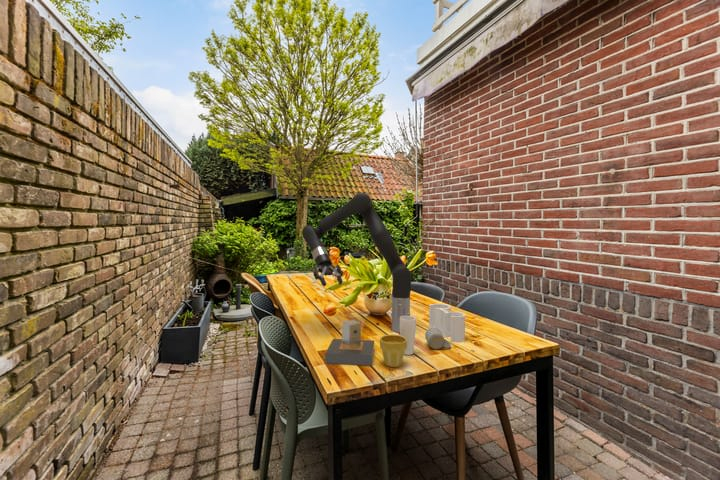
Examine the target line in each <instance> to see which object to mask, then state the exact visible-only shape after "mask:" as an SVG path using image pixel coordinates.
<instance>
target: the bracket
mask: <svg viewBox="0 0 720 480" xmlns="http://www.w3.org/2000/svg"><path fill="white" fill-rule="evenodd" d="M451 306H452V305H450V304H445V303H432V304H431V303H430V304H429V307H428V309H429V310H428V311H429V313H428V314H429V315H428V318H429V319H428V320H429V321H428V327H429V328H432V327H435V328H438V329H439V330H440V331H441V333H442V335H443V337H444V339H446V338H450V342H451V343H463V342H465V341H466V313H464V312H461V311H452V310H451V309H452V308H451Z"/></svg>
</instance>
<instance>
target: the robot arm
mask: <svg viewBox="0 0 720 480" xmlns="http://www.w3.org/2000/svg"><path fill="white" fill-rule="evenodd" d="M357 213H360V215H361V217H362V218H363V220H364V222H365V224H366V228H367V231H368V233H369V236H370V238H371V239H372V242H373V243H374V246H375V247H376V249H377V251H378V253H380V255H381V256H382V258H383V259H384V260H385V262H386V263H387V266H388V268H389V270H390V273H391V277H392V290H391V324H390V325H391V331H392V332H395V333H400V317H401V316H411V292H412V272H411V271H410V269H409V268H408V267H407V265H406V264H405V263H404V261H403V260H402V258H401V257H400V255H399V253H398V251H397V248H396V244H395V242H394V240H393V237H392V236H391V233H390V232H389V230H388V228H387V227H386V225H385V223H384V222H383V220H382V219H381V218H380V216H379V214H378V213H377V210H376V208H375V205H374V203H373V201H372V199H371V197H370V195H369V194H367V193H365V192H358V193H356V194H355V195H354V196H353V197H352V198H351V199H349V201H347V202H346V203H345V204H344V205H342V206H341V207H339V208H338V209H336V210H334V211H333V212H331V213H329V214H328V215H325V217H323V218H322V219H320V220H319V221H318V222H317V225H318V227H317V228H315V227H314V226H312V225H310V224H308V225H305V226H304V227H303V228H302V229H301V235H302V238H303V239H304V241H305V242H306V244H307V246H308V247H309V250H310V252H311V255H312V258H313V261H314V264H315V265H316V266H314V267H313V268H312V273H313V276H314V279H315V280H319V282H320V284H321V285H322V287H326V286H327V282H326V280H325V277H327V276H332V277H334V278H336V281H337V282H338V285H342V284H343V278H342V277H343V275H344V272H343V270H342V268H341V266H340V265H339V264H336V266H334V265H333V262H332V259H331V257H330V255H329V253H328V252H329V251H327V249H326V247H325V246H324V245H325V244H324V242H322V240H321V239H322V238H323V237H324V236H325V235H326V234H327V232H329V231H330V230H332V229H334V228H336V227H337V226H338V225H340V224H341V223H342V222H344V221H345V220H347V219H348V218H349V217H351V216H353V215H355V214H357ZM319 273H320V274H319ZM324 276H325V277H324Z"/></svg>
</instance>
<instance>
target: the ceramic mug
mask: <svg viewBox="0 0 720 480" xmlns="http://www.w3.org/2000/svg"><path fill="white" fill-rule="evenodd" d="M424 336H425V340H426V342H427V344H428V346H429V347H431V348H432V349H433V350H440V349H442V348H443V347H444V348H446V349H450V348H451V346H452V344H451V343H450V342H449V341H448V340H447V339H446V338H445V337H444V335H442V333H441V331H440V330H439V329H438V328H435V327H429V328H428V329H427V330H426V331H425V335H424Z"/></svg>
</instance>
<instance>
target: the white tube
mask: <svg viewBox="0 0 720 480" xmlns="http://www.w3.org/2000/svg"><path fill="white" fill-rule="evenodd" d="M416 330H417V317H415V316H412V315H410V316H401V317H400V332H399V335H400V336H403V337H405V338H406V339H407V348H406V349H405V352H404V355H405V356H410V355H414V353H415V349H414V347H415V342H416V341H415V340H416Z"/></svg>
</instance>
